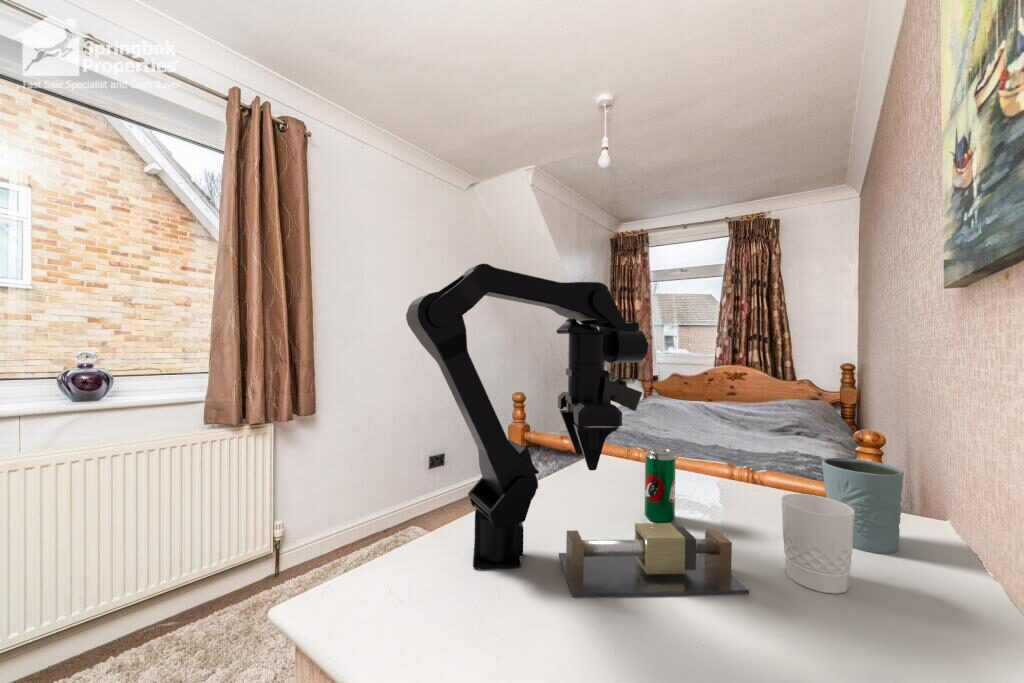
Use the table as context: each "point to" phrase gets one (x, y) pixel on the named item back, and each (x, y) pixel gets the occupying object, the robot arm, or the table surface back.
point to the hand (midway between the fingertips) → (585, 461)
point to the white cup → (818, 541)
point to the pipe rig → (620, 574)
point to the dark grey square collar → (688, 548)
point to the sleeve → (661, 548)
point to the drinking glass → (868, 500)
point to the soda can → (660, 485)
